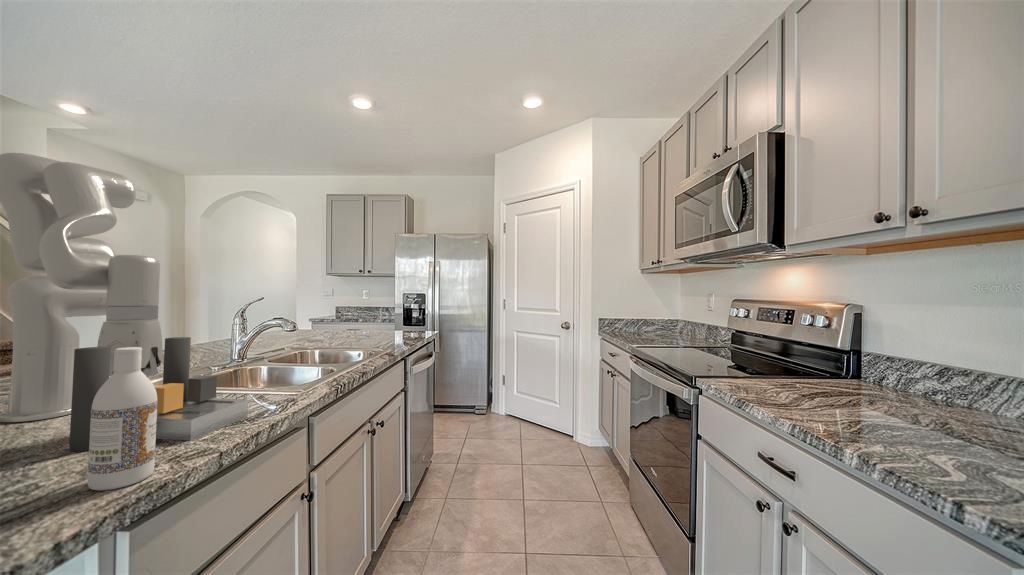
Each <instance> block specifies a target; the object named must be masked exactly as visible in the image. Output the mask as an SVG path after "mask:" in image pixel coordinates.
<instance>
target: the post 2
mask: <svg viewBox="0 0 1024 575" xmlns="http://www.w3.org/2000/svg"><path fill="white" fill-rule="evenodd" d="M191 340H192V337H189V336H179V337H178V336H177V337H176V336H175V337H166V338H164V354H163V374H162V385H164V384H169V383H182V384H184V390H183V402H187V401H188V379H190V363H191V362H190V361H191V360H190V358H191V343H192V342H191Z"/></svg>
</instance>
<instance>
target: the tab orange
mask: <svg viewBox="0 0 1024 575" xmlns="http://www.w3.org/2000/svg"><path fill="white" fill-rule="evenodd" d="M154 387H155V389H156V393H157V399H158V400H157V413H167V412H170V411H173V410H176V409H180V408H183V390H184V384H182V383H169V384H164V385H163V384H161V385H156V386H154Z"/></svg>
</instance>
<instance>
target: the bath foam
mask: <svg viewBox="0 0 1024 575" xmlns="http://www.w3.org/2000/svg"><path fill="white" fill-rule="evenodd" d="M141 359H142V348H141V347H125V348H117V349H115V351H114V372H113V374H112V375H111V376H109V379H108V380H107V381H106V382H105V383H104V384H103V385H102V386H101V388H100V389H99V390H98V392H97V393H96V395H95V397H94V400H93V403H92V409H91V421H90V440H89V451H88V461H87V462H88V464H87V465H88V466H87V467H88V468H87V472H88V473H87V487H88V488H89V489H90V490H93V491H111V490H116V489H121V488H124V487H128V486H131V485H134V484H137V483H140V482H141V481H144V480H145V479H148V478H149V477H150V476H151V475H152V474H153V473H154V471H155V463H156V462H155V459H156V440H157V439H156V422H157V400H158V399H157V393H156V389H155V387H156V386H154V384H153V382H152V381H151V380H150V379H149V377H146V375H145V374H144V373H143V372H142V371H141V370H140V369H141Z"/></svg>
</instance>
